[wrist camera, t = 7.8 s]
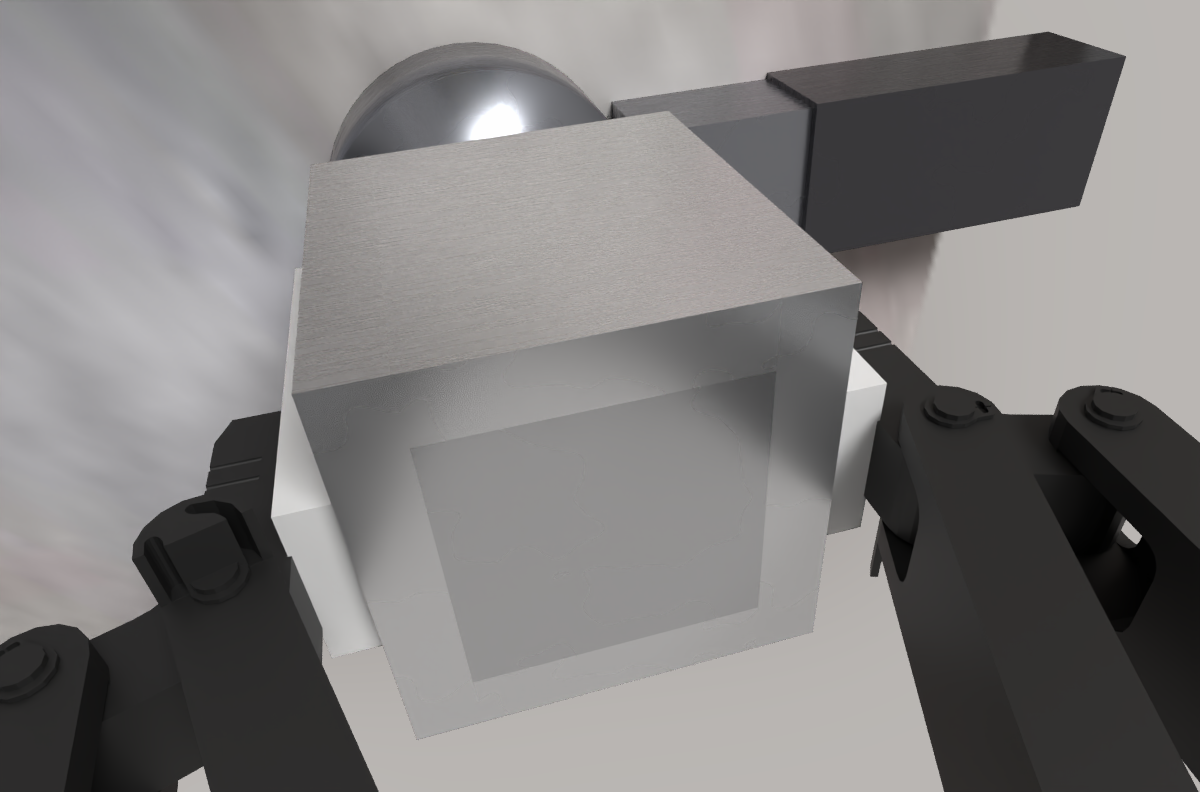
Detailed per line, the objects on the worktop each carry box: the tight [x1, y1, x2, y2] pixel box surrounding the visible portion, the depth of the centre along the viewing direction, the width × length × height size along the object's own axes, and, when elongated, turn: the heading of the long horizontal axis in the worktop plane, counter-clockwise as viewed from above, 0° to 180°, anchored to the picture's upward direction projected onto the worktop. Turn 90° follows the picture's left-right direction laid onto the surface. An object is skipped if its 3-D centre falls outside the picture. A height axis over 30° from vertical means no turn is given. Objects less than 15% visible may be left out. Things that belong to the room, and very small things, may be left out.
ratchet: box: [330, 32, 1126, 253], centre depth 18 cm, size 19×7×8 cm, turn 93°
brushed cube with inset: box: [292, 111, 862, 740], centre depth 13 cm, size 6×6×7 cm
